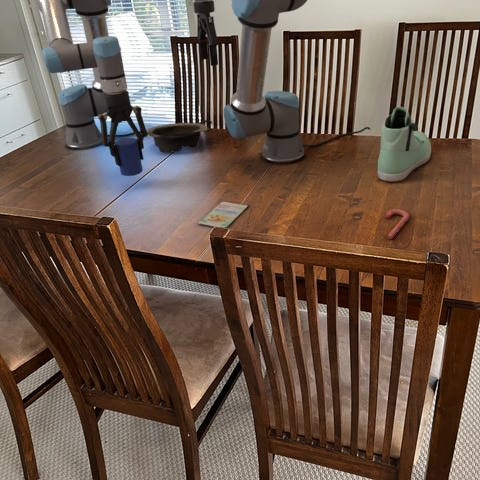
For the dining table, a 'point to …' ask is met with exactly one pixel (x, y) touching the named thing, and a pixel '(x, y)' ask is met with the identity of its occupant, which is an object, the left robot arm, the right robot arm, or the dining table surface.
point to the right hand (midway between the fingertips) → (209, 62)
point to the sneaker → (401, 146)
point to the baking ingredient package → (223, 214)
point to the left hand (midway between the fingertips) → (129, 161)
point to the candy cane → (399, 221)
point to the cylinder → (129, 156)
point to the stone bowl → (176, 136)
